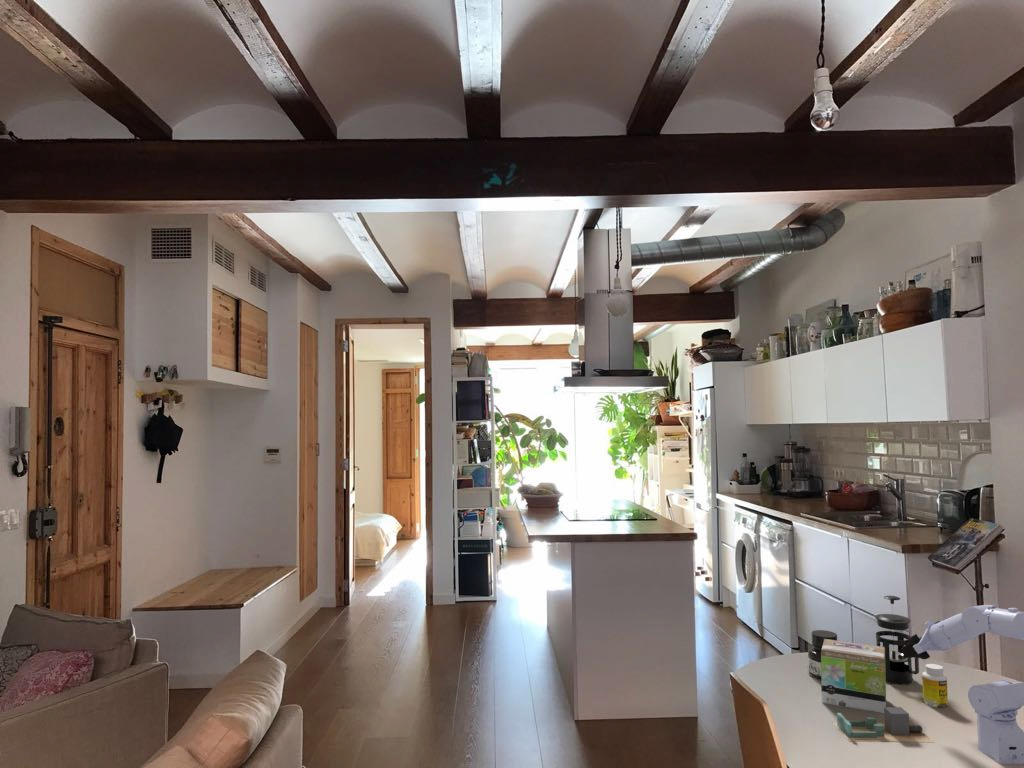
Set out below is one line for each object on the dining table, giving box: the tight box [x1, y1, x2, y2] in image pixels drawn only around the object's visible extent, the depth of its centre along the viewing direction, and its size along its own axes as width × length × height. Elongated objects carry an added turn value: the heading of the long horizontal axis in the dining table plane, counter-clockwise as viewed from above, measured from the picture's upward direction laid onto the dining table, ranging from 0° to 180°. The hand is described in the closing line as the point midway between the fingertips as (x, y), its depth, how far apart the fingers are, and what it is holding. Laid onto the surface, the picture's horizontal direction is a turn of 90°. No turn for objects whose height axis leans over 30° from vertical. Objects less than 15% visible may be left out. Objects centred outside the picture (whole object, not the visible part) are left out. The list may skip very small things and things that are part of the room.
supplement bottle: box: [921, 663, 949, 709], centre depth 186 cm, size 6×6×10 cm
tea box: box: [820, 639, 887, 714], centre depth 188 cm, size 15×10×15 cm, turn 62°
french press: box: [874, 595, 920, 685], centre depth 205 cm, size 12×9×23 cm
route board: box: [832, 712, 935, 743], centre depth 170 cm, size 10×19×4 cm, turn 87°
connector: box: [883, 706, 924, 736], centre depth 170 cm, size 4×8×5 cm, turn 87°
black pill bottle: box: [807, 629, 838, 680], centre depth 208 cm, size 10×9×12 cm
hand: (913, 647), depth 181 cm, fingers open, 7 cm apart
